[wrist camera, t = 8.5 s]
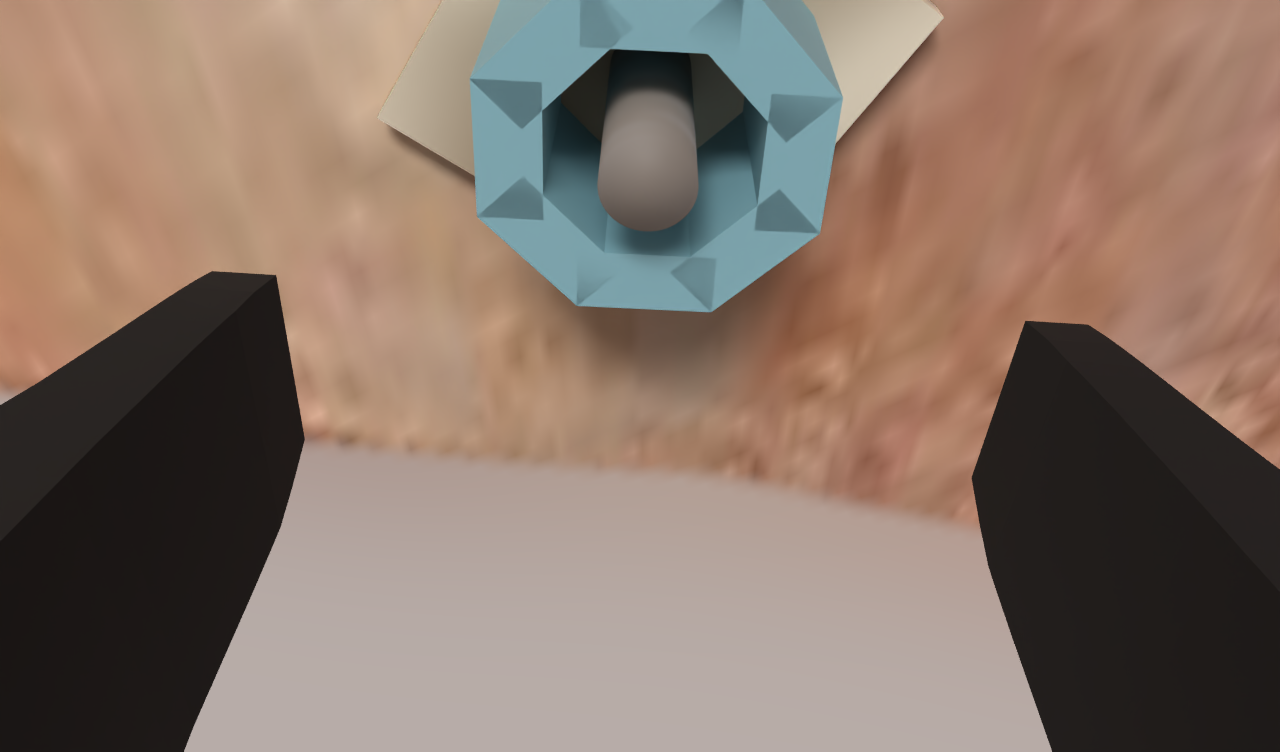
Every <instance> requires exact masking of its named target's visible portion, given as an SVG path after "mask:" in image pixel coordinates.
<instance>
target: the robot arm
mask: <svg viewBox="0 0 1280 752" xmlns="http://www.w3.org/2000/svg"><path fill="white" fill-rule="evenodd" d="M304 440H305V438H304V432H303V427H302V421H301V415H300V409H299V404H298V398H297V392H296V386H295V381H294V375H293V369H292V364H291V358H290V352H289V346H288V341H287V335H286V329H285V324H284V318H283V312H282V306H281V301H280V295H279V289H278V284H277V278H276V275H264V274H248V273H232V272H215V271H212V272H210V273H208V274H206V275H204V276H203V277H201V278H199V279H197V280H195V281H194V282H192V283H190V284H189V285H187V286H185V287H184V288H182V289H181V290H179V291H177V292H176V293H174V294H173V295H171V296H170V297H168V298H167V299H165V300H164V301H162V302H160V303H159V304H157V305H156V306H154V307H153V308H151V309H150V310H148V311H147V312H145V313H144V314H142V315H141V316H139V317H138V318H136V319H135V320H133V321H132V322H130V323H129V324H127V325H126V326H124V327H123V328H121V329H120V330H118V331H117V332H115V333H114V334H112V335H111V336H109V337H108V338H106V339H105V340H103V341H101V342H100V343H98V344H97V345H95V346H94V347H92V348H91V349H89V350H88V351H86V352H85V353H83V354H81V355H80V356H78V357H77V358H75V359H74V360H72V361H71V362H69V363H68V364H66V365H65V366H63V367H62V368H60V369H58V370H57V371H55V372H54V373H52V374H51V375H49V376H48V377H46V378H45V379H43V380H41V381H40V382H38V383H37V384H35V385H34V386H32V387H30V388H28V389H27V390H25V391H23V392H22V393H20V394H18V395H17V396H15V397H13V398H12V399H10V400H8V401H7V402H5V403H3V404H2V405H0V752H184V749H185V747H186V745H187V742H188V739H189V737H190V734H191V732H192V729H193V726H194V724H195V722H196V720H197V717H198V715H199V713H200V710H201V708H202V706H203V704H204V702H205V699H206V697H207V695H208V692H209V690H210V688H211V686H212V683H213V681H214V679H215V677H216V674H217V672H218V670H219V667H220V665H221V663H222V661H223V658H224V656H225V654H226V652H227V649H228V647H229V645H230V642H231V640H232V638H233V636H234V633H235V631H236V629H237V627H238V624H239V622H240V620H241V618H242V615H243V613H244V611H245V609H246V606H247V604H248V602H249V600H250V597H251V595H252V593H253V590H254V588H255V586H256V583H257V581H258V579H259V576H260V574H261V572H262V569H263V567H264V565H265V562H266V560H267V558H268V555H269V553H270V551H271V548H272V546H273V544H274V541H275V539H276V537H277V534H278V532H279V529H280V527H281V523H282V520H283V517H284V513H285V510H286V506H287V503H288V500H289V496H290V493H291V489H292V486H293V482H294V478H295V474H296V471H297V467H298V463H299V459H300V455H301V452H302V448H303V444H304ZM972 482H973V488H974V494H975V500H976V505H977V511H978V517H979V523H980V528H981V533H982V538H983V542H984V547H985V552H986V557H987V561H988V566H989V569H990V572H991V576H992V579H993V581H994V585H995V588H996V591H997V594H998V597H999V599H1000V602H1001V606H1002V609H1003V611H1004V614H1005V617H1006V620H1007V623H1008V626H1009V629H1010V632H1011V635H1012V638H1013V641H1014V644H1015V646H1016V649H1017V652H1018V655H1019V658H1020V661H1021V664H1022V666H1023V669H1024V672H1025V675H1026V678H1027V681H1028V683H1029V686H1030V689H1031V692H1032V695H1033V698H1034V701H1035V703H1036V706H1037V709H1038V712H1039V715H1040V718H1041V720H1042V723H1043V726H1044V729H1045V732H1046V735H1047V738H1048V741H1049V743H1050V746H1051V749H1052V752H1280V469H1278V468H1277V467H1276V466H1274V465H1273V464H1272V463H1270V462H1269V461H1268V460H1266V459H1265V458H1264V457H1262V456H1261V455H1260V454H1258V453H1257V452H1256V451H1254V450H1253V449H1252V448H1250V447H1249V446H1248V445H1247V444H1245V443H1244V442H1243V441H1241V440H1240V439H1239V438H1237V437H1236V436H1235V435H1234V434H1232V433H1231V432H1230V431H1228V430H1227V429H1226V428H1224V427H1223V426H1222V425H1221V424H1219V423H1218V422H1217V421H1215V420H1214V419H1213V418H1212V417H1210V416H1209V415H1208V414H1206V413H1205V412H1204V411H1203V410H1201V409H1200V408H1199V407H1198V406H1196V405H1195V404H1194V403H1192V402H1191V401H1190V400H1189V399H1187V398H1186V397H1185V396H1184V395H1182V394H1181V393H1180V392H1178V391H1177V390H1176V389H1175V388H1173V387H1172V386H1171V385H1170V384H1168V383H1167V382H1166V381H1164V380H1163V379H1162V378H1161V377H1159V376H1158V375H1157V374H1155V373H1154V372H1153V371H1152V370H1150V369H1149V368H1148V367H1146V366H1145V365H1144V364H1143V363H1141V362H1140V361H1139V360H1137V359H1136V358H1135V357H1133V356H1132V355H1131V354H1129V353H1128V352H1127V351H1125V350H1124V349H1123V348H1121V347H1120V346H1119V345H1117V344H1116V343H1115V342H1113V341H1112V340H1110V339H1109V338H1107V337H1106V336H1105V335H1103V334H1102V333H1100V332H1099V331H1097V330H1095V329H1094V328H1092V327H1091V326H1089V325H1084V324H1068V323H1051V322H1035V321H1025V324H1024V327H1023V329H1022V332H1021V335H1020V338H1019V341H1018V344H1017V347H1016V350H1015V353H1014V356H1013V359H1012V362H1011V364H1010V367H1009V370H1008V373H1007V376H1006V379H1005V382H1004V385H1003V388H1002V391H1001V394H1000V397H999V399H998V402H997V405H996V408H995V411H994V414H993V417H992V420H991V423H990V426H989V429H988V432H987V434H986V437H985V440H984V443H983V446H982V449H981V452H980V455H979V458H978V461H977V464H976V466H975V469H974V472H973V475H972Z"/></svg>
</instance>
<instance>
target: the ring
mask: <svg viewBox="0 0 1280 752" xmlns="http://www.w3.org/2000/svg"><path fill="white" fill-rule="evenodd" d="M610 49H624V50H644V51H663V52H683V53H702V54H708V55H709V56H710V57H711V58H712V59H713V60H714V62H715V63H716V64H717V65H718V66H719V67H720V68H721V69H722V71H723V72H724V73H725V74H726V75H727V76H728V77H729V79H730V80H731V81H732V82H733V83H734V84H735V85H736V86H737V88H738V89H739V90H740V91H741V92H742V93H743V94H744V95H745V97H744V105H743V112H742V113H741V114H739V115H738V116H737V117H736V118H735V119H733V120H732V121H731V122H730V123H728V124H727V125H726V126H725V127H724V128H722V129H721V130H720V131H719V132H717V133H716V134H715V135H714V136H712V137H711V138H710V139H709V140H708V141H706V142H705V143H704V144H703V145H701V146H700V147H699V148H698V149H697V167H698V183H699V188H698V195H697V199H696V202H695V204H694V206H693V208H692V209H691V211H690V212H689V213H688V214H687V215H686V217H685V218H683V219H682V220H681V221H680V222H678V223H677V224H675V225H673V226H671V227H669V228H666V229H663V230H659V231H638V230H634V229H630V228H628V227H625V226H623V225H621V224H620V223H618V222H617V221H615V220H614V219H613V218H612V217H611V216H610V215H609V214H608V213H607V212H606V210H605V209H604V207H603V205H602V203H601V201H600V198H599V195H598V187H597V183H598V173H599V164H600V155H601V145H602V143H601V142H600V141H599V140H598V139H597V138H596V137H595V136H594V135H593V134H592V133H591V132H590V131H589V130H588V129H587V128H586V127H585V126H584V125H583V124H582V123H581V122H580V121H579V120H578V119H577V118H576V117H575V116H574V115H573V114H572V113H571V112H570V111H569V110H568V109H567V108H566V107H565V106H564V105H563V104H562V103H561V93H562V92H563V91H564V90H566V89H567V88H568V87H569V86H570V85H571V84H572V83H573V82H574V81H575V80H577V79H578V78H579V77H580V76H581V75H582V74H583V73H584V72H585V71H586V70H588V69H589V68H590V67H591V66H592V65H593V64H594V63H595V62H596V61H597V60H599V59H600V58H601V57H602V56H603V55H604V54H605V53H606V52H607V51H608V50H610ZM470 94H471V113H472V131H473V150H474V168H475V187H476V205H477V217H478V218H479V219H480V220H481V221H482V222H484V223H485V224H486V225H487V226H488V227H489V228H490V229H491V230H493V231H494V232H495V233H496V234H497V235H498V236H499V237H500V238H501V239H503V240H504V241H505V242H506V243H507V244H508V245H509V246H510V247H512V248H513V249H514V250H515V251H516V252H517V253H518V254H519V255H520V256H522V257H523V258H524V259H525V260H526V261H527V262H528V263H529V264H531V265H532V266H533V267H534V268H535V269H536V270H537V271H538V272H540V273H541V274H542V275H543V276H544V277H545V278H546V279H547V280H548V281H550V282H551V283H552V284H553V285H554V286H555V287H556V288H557V289H559V290H560V291H561V292H562V293H563V294H564V295H565V296H566V297H567V298H569V299H570V300H571V301H572V302H573V303H574V304H575V305H576V306H590V307H611V308H632V309H653V310H674V311H695V312H712V311H714V310H715V309H716V308H718V307H719V306H720V305H722V304H723V303H725V302H726V301H727V300H729V299H730V298H732V297H733V296H734V295H736V294H737V293H738V292H740V291H741V290H743V289H744V288H745V287H747V286H748V285H749V284H751V283H752V282H754V281H755V280H756V279H758V278H759V277H761V276H762V275H763V274H765V273H766V272H767V271H769V270H770V269H772V268H773V267H774V266H776V265H777V264H778V263H780V262H781V261H783V260H784V259H785V258H787V257H788V256H790V255H791V254H792V253H794V252H795V251H796V250H798V249H799V248H801V247H802V246H803V245H805V244H806V243H808V242H809V241H810V240H812V239H813V238H814V237H816V236H817V235H819V234H820V230H821V224H822V218H823V213H824V207H825V201H826V195H827V189H828V183H829V177H830V172H831V166H832V160H833V154H834V148H835V142H836V137H837V131H838V125H839V119H840V113H841V107H842V101H843V96H842V93H841V90H840V87H839V84H838V82H837V79H836V76H835V73H834V70H833V68H832V65H831V62H830V59H829V56H828V53H827V51H826V48H825V45H824V42H823V39H822V37H821V34H820V31H819V28H818V25H817V23H816V20H815V17H814V15H813V14H812V12H811V11H810V10H809V9H808V8H807V6H806V5H805V4H804V3H803V1H802V0H500V2H499V4H498V7H497V10H496V12H495V15H494V17H493V20H492V22H491V25H490V28H489V30H488V33H487V35H486V38H485V40H484V43H483V46H482V48H481V51H480V53H479V56H478V58H477V61H476V64H475V66H474V69H473V71H472V74H471V76H470Z"/></svg>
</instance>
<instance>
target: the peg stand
mask: <svg viewBox="0 0 1280 752" xmlns="http://www.w3.org/2000/svg"><path fill="white" fill-rule="evenodd" d="M802 1H803V3H804V4H805V5H806V6H807V8H808V9H809V10H810V11H811V12H812V14H813V15H814V17H815V20H816V23H817V25H818V28H819V31H820V34H821V37H822V39H823V42H824V45H825V48H826V51H827V53H828V56H829V59H830V62H831V65H832V68H833V70H834V73H835V76H836V79H837V82H838V84H839V87H840V90H841V93H842V96H843V101H842V107H841V113H840V119H839V125H838V131H837V137H836V142H837V141H838V140H839V139H840V138H841V137H842V135H843V134H844V133H845V132H846V131H847V130H848V128H849V127H850V126H851V125H852V124H853V123H854V121H855V120H856V119H857V118H858V117H859V116H860V115H861V113H862V112H863V111H864V110H865V109H866V108H867V106H868V105H869V104H870V103H871V102H872V101H873V99H874V98H875V97H876V96H877V95H878V94H879V92H880V91H881V90H882V89H883V88H884V87H885V85H886V84H887V83H888V82H889V81H890V80H891V78H892V77H893V76H894V75H895V74H896V73H897V72H898V70H899V69H900V68H901V67H902V66H903V65H904V63H905V62H906V61H907V60H908V59H909V58H910V56H911V55H912V54H913V53H914V52H915V51H916V49H917V48H918V47H919V46H920V45H921V44H922V42H923V41H924V40H925V39H926V38H927V37H928V35H929V34H930V33H931V32H932V31H933V30H934V28H935V27H936V26H937V25H938V24H939V23H940V22H941V20H942V19H943V18H944V17H943V15H942V14H941V12H940V11H939V9H938V8H937V6H936V5H935V4H933V3H932V2H931V1H929V0H802ZM499 2H500V0H442V2H441V4H440V5H439V7H438V9H437V11H436V13H435V14H434V16H433V18H432V20H431V22H430V23H429V25H428V27H427V29H426V30H425V32H424V34H423V36H422V38H421V39H420V41H419V43H418V45H417V46H416V48H415V50H414V52H413V54H412V55H411V57H410V59H409V61H408V63H407V64H406V66H405V68H404V70H403V71H402V73H401V75H400V77H399V79H398V80H397V82H396V84H395V86H394V87H393V89H392V91H391V93H390V95H389V96H388V98H387V100H386V102H385V104H384V105H383V107H382V109H381V111H380V113H379V115H378V117H377V119H379V120H381V121H382V122H384V123H386V124H387V125H389V126H391V127H393V128H394V129H396V130H398V131H399V132H401V133H403V134H404V135H406V136H408V137H409V138H411V139H413V140H414V141H416V142H418V143H419V144H421V145H423V146H425V147H426V148H428V149H430V150H431V151H433V152H435V153H436V154H438V155H440V156H441V157H443V158H445V159H446V160H448V161H450V162H452V163H453V164H455V165H457V166H458V167H460V168H462V169H463V170H465V171H467V172H468V173H470V174H472V175H473V176H475V168H474V150H473V131H472V113H471V94H470V76H471V74H472V71H473V69H474V66H475V64H476V61H477V58H478V56H479V53H480V51H481V48H482V46H483V43H484V40H485V38H486V35H487V33H488V30H489V28H490V25H491V22H492V20H493V17H494V15H495V12H496V10H497V7H498V4H499ZM744 97H745V95H744V94H743V93H742V92H741V91H740V90H739V89H738V88H737V86H736V85H735V84H734V83H733V82H732V81H731V80H730V79H729V77H728V76H727V75H726V74H725V73H724V72H723V71H722V69H721V68H720V67H719V66H718V65H717V64H716V63H715V62H714V60H713V59H712V58H711V57H710V56H709V55H708V54H702V53H683V52H663V51H644V50H624V49H610V50H608V51H607V52H606V53H605V54H604V55H603V56H602V57H601V58H600V59H599V60H597V61H596V62H595V63H594V64H593V65H592V66H591V67H590V68H589V69H588V70H586V71H585V72H584V73H583V74H582V75H581V76H580V77H579V78H578V79H577V80H575V81H574V82H573V83H572V84H571V85H570V86H569V87H568V88H567V89H566V90H564V91H563V92H562V93H561V103H562V104H563V105H564V106H565V107H566V108H567V109H568V110H569V111H570V112H571V113H572V114H573V115H574V116H575V117H576V118H577V119H578V120H579V121H580V122H581V123H582V124H583V125H584V126H585V127H586V128H587V129H588V130H589V131H590V132H591V133H592V134H593V135H594V136H595V137H596V138H597V139H598V140H599V141H600V142H601V143H602V145H601V155H600V164H599V173H598V183H597V187H598V195H599V198H600V201H601V203H602V205H603V207H604V209H605V210H606V212H607V213H608V214H609V215H610V216H611V217H612V218H613V219H614V220H615V221H617V222H618V223H620V224H621V225H623V226H625V227H628V228H630V229H634V230H638V231H659V230H663V229H666V228H669V227H671V226H673V225H675V224H677V223H678V222H680V221H681V220H682V219H683V218H685V217H686V215H687V214H688V213H689V212H690V211H691V209H692V208H693V206H694V204H695V202H696V199H697V195H698V188H699V183H698V167H697V149H698V148H699V147H700V146H701V145H703V144H704V143H705V142H706V141H708V140H709V139H710V138H711V137H712V136H714V135H715V134H716V133H717V132H719V131H720V130H721V129H722V128H724V127H725V126H726V125H727V124H728V123H730V122H731V121H732V120H733V119H735V118H736V117H737V116H738V115H739V114H741V113H742V112H743V105H744ZM836 142H835V144H836Z"/></svg>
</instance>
